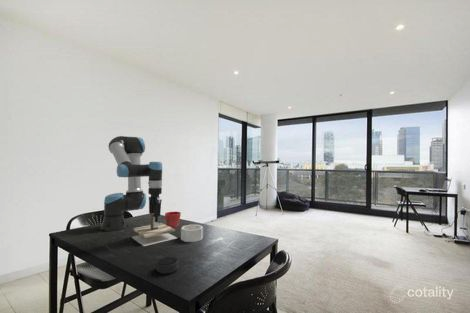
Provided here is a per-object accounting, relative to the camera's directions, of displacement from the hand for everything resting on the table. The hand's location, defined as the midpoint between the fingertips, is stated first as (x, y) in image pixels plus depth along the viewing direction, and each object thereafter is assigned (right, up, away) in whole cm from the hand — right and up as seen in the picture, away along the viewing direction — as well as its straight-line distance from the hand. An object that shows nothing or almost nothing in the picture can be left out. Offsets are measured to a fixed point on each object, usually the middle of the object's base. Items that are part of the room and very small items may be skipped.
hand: (154, 226), depth 135 cm
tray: (0, -7, -1) cm, 7 cm away
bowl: (+23, -7, -2) cm, 24 cm away
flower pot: (+4, -8, +25) cm, 26 cm away
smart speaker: (+20, -6, -40) cm, 45 cm away
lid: (0, -2, 0) cm, 2 cm away
